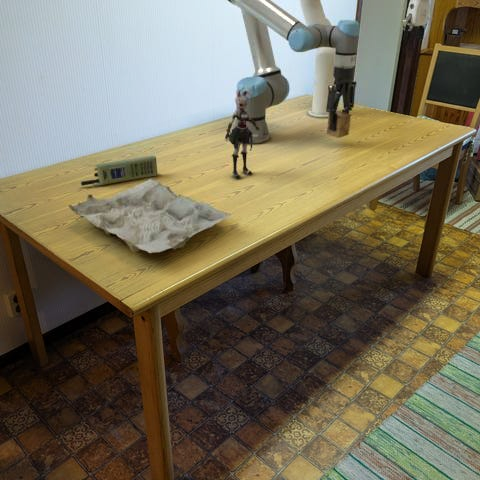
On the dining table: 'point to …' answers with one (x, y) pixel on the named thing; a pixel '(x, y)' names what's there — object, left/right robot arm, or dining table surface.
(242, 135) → the figurine
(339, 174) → the dining table surface
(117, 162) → the handheld radio
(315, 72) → the right robot arm
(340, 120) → the block
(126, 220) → the grey bumpy flat piece
